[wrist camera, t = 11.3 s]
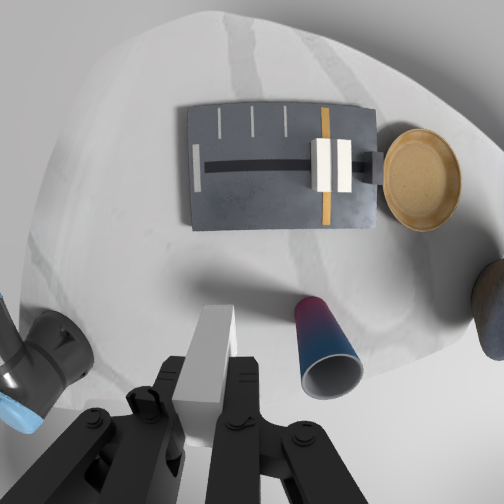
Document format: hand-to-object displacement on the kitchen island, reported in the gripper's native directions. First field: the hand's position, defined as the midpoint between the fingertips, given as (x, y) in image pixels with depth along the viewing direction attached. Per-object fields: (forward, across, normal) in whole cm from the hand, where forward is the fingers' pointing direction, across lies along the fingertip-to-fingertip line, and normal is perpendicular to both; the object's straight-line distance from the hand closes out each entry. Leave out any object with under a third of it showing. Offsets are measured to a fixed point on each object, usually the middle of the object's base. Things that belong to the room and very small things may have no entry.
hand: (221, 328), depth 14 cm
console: (+24, +6, +8) cm, 26 cm away
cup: (+24, +10, -13) cm, 29 cm away
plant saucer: (+24, +26, +7) cm, 36 cm away
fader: (+22, +11, +8) cm, 26 cm away
